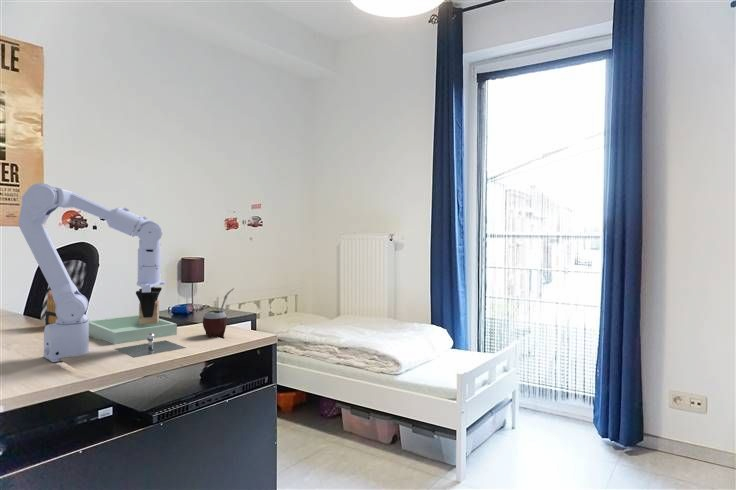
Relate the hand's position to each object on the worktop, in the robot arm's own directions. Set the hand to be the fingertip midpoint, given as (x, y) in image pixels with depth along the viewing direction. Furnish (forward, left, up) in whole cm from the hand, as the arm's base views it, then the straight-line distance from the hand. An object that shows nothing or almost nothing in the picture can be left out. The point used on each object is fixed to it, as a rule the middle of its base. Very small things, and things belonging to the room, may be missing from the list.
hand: (149, 315), depth 130 cm
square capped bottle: (0, 0, -2) cm, 2 cm away
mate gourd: (+21, 0, -10) cm, 23 cm away
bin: (+4, +20, -9) cm, 23 cm away
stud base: (0, -2, -9) cm, 10 cm away
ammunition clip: (-8, +47, -10) cm, 49 cm away
